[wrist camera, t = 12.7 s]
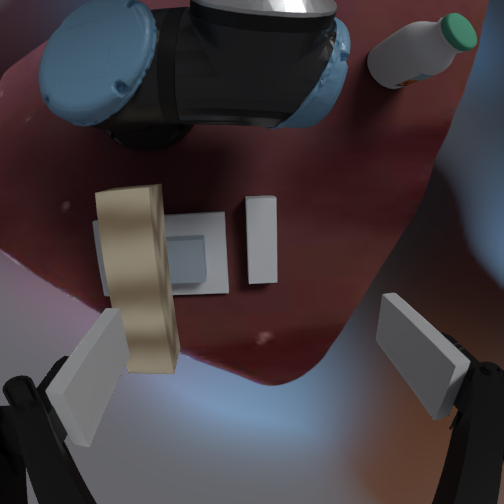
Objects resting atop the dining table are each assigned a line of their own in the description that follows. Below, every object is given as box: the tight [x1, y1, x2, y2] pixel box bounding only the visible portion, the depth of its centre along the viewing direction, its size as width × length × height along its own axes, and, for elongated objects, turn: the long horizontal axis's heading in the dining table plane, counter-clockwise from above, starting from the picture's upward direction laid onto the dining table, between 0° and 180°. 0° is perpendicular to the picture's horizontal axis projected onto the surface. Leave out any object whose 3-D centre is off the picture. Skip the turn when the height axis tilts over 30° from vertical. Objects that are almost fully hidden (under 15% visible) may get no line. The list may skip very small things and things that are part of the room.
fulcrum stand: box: [93, 211, 229, 296], centre depth 42 cm, size 12×20×8 cm, turn 92°
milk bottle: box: [367, 13, 477, 89], centre depth 30 cm, size 8×8×20 cm
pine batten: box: [95, 184, 180, 374], centre depth 35 cm, size 22×6×6 cm, turn 2°
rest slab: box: [245, 196, 277, 284], centre depth 45 cm, size 12×4×3 cm, turn 2°
